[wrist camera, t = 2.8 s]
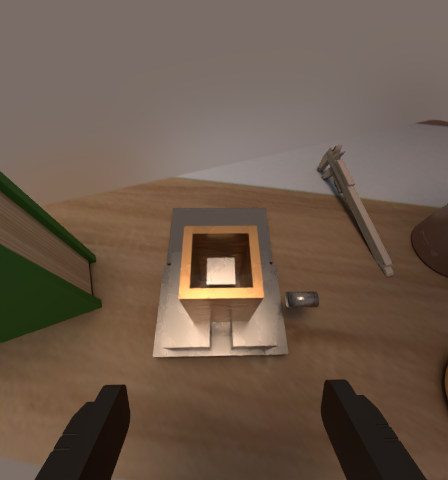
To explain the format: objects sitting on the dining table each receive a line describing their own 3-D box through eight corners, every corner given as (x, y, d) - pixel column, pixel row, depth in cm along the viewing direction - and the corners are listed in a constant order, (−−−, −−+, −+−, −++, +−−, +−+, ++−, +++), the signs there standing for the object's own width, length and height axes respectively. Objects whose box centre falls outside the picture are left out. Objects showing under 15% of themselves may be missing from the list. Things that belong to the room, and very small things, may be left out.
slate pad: (264, 210, 35) (265, 207, 34) (271, 263, 30) (272, 262, 30) (173, 210, 35) (173, 208, 34) (167, 265, 30) (166, 263, 30)
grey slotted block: (295, 270, 30) (340, 212, 19) (310, 354, 25) (384, 344, 14) (167, 272, 30) (134, 213, 18) (157, 357, 25) (104, 350, 13)
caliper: (315, 171, 40) (330, 139, 34) (321, 169, 40) (337, 138, 34) (385, 278, 30) (421, 258, 25) (392, 276, 30) (430, 256, 25)
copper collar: (245, 269, 23) (256, 225, 16) (248, 321, 20) (264, 297, 13) (195, 269, 22) (184, 226, 16) (192, 322, 20) (178, 298, 13)
